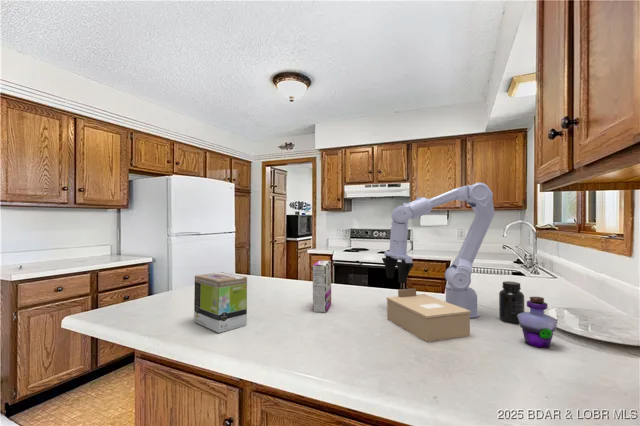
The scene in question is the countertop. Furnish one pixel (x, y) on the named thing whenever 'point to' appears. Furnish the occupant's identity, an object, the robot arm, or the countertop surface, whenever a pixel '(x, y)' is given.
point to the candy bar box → (321, 286)
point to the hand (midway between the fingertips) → (395, 280)
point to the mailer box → (429, 324)
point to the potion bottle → (537, 324)
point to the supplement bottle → (510, 302)
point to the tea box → (220, 301)
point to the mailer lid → (425, 304)
